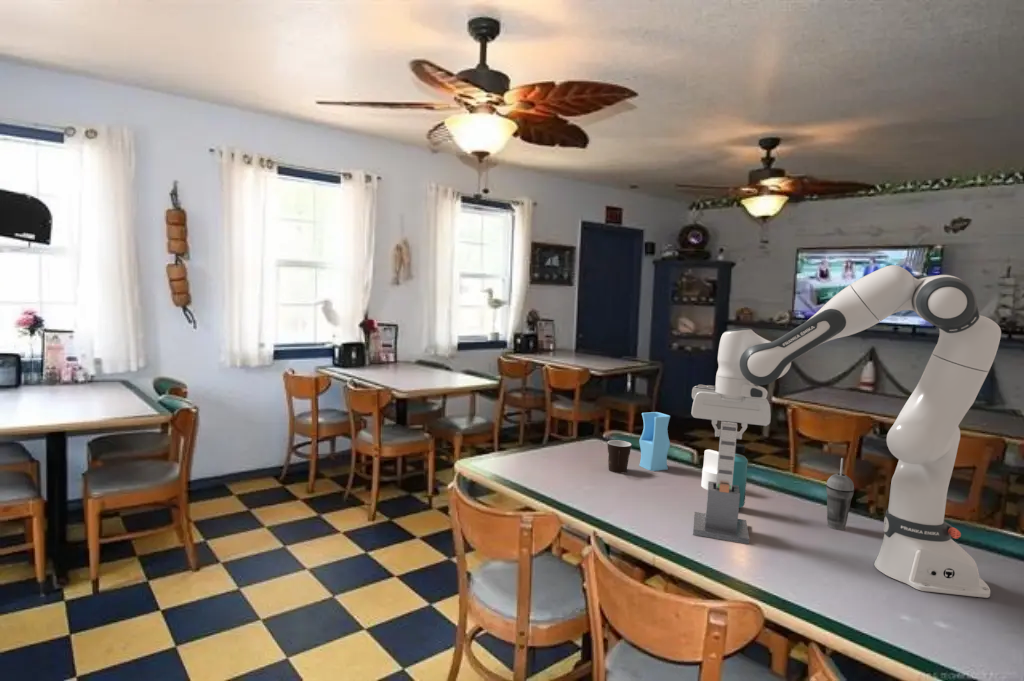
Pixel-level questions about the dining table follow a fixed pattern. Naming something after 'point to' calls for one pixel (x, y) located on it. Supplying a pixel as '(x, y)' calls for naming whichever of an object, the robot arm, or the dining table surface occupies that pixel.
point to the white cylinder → (709, 467)
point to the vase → (654, 441)
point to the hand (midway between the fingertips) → (728, 437)
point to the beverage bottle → (740, 472)
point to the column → (726, 454)
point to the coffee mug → (618, 455)
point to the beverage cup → (838, 499)
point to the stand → (721, 515)
